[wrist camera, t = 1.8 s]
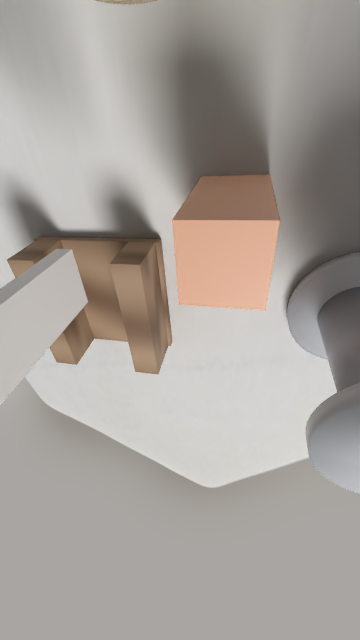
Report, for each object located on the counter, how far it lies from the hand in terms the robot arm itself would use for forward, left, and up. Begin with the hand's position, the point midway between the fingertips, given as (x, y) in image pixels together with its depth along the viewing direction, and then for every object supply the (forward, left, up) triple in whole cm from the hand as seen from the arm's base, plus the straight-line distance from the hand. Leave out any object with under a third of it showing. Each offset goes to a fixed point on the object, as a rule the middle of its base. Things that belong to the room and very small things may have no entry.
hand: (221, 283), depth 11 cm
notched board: (+7, -10, -9) cm, 15 cm away
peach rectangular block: (0, 0, -9) cm, 9 cm away
